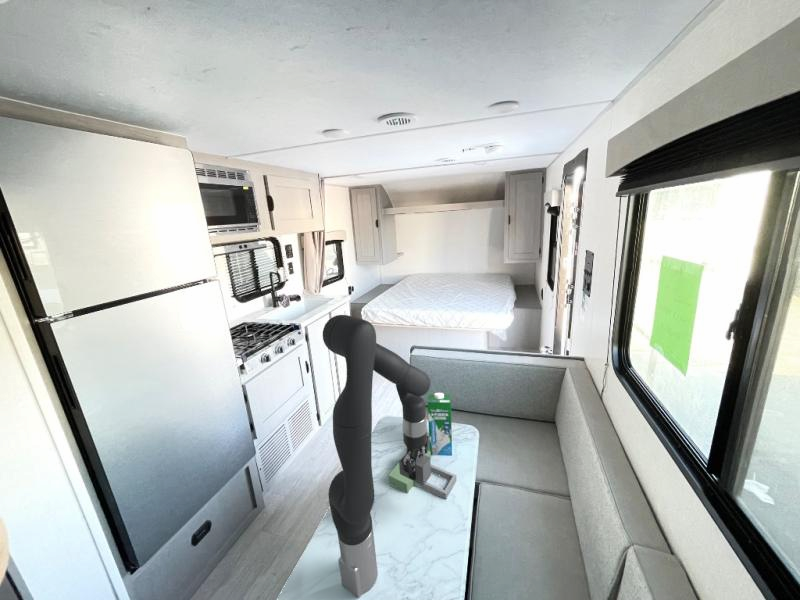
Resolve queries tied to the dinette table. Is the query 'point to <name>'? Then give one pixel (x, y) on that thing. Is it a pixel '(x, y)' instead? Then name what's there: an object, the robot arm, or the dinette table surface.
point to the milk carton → (440, 424)
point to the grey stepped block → (419, 469)
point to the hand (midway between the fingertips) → (416, 472)
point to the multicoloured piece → (407, 483)
